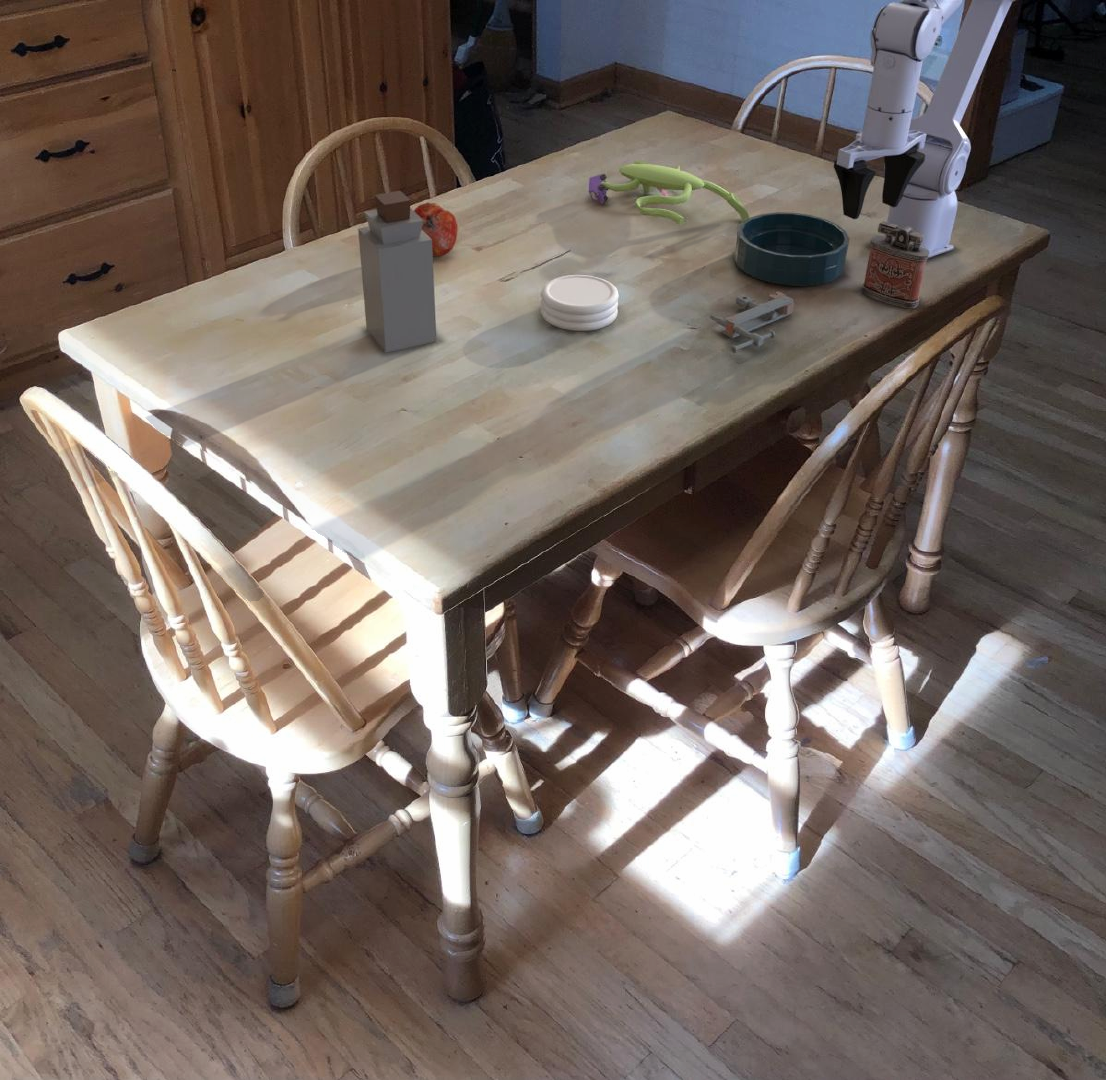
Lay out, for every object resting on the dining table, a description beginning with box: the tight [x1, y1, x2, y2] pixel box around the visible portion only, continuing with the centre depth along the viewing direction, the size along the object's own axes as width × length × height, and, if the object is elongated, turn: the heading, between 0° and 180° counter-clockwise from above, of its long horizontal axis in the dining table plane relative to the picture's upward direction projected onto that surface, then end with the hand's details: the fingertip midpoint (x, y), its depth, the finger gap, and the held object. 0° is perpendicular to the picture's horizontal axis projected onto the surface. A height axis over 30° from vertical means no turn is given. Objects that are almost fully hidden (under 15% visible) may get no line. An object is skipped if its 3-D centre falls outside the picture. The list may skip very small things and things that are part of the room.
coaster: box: [540, 274, 620, 332], centre depth 158 cm, size 10×10×4 cm
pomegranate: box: [413, 202, 459, 257], centre depth 172 cm, size 7×7×10 cm
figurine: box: [588, 159, 750, 226], centre depth 186 cm, size 18×27×6 cm
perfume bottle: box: [357, 190, 438, 353], centre depth 148 cm, size 7×7×18 cm
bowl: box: [734, 211, 850, 287], centre depth 171 cm, size 15×15×4 cm
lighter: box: [860, 220, 929, 309], centre depth 162 cm, size 8×3×10 cm, turn 51°
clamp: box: [709, 291, 795, 354], centre depth 156 cm, size 15×2×10 cm
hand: (870, 210), depth 162 cm, fingers open, 7 cm apart
